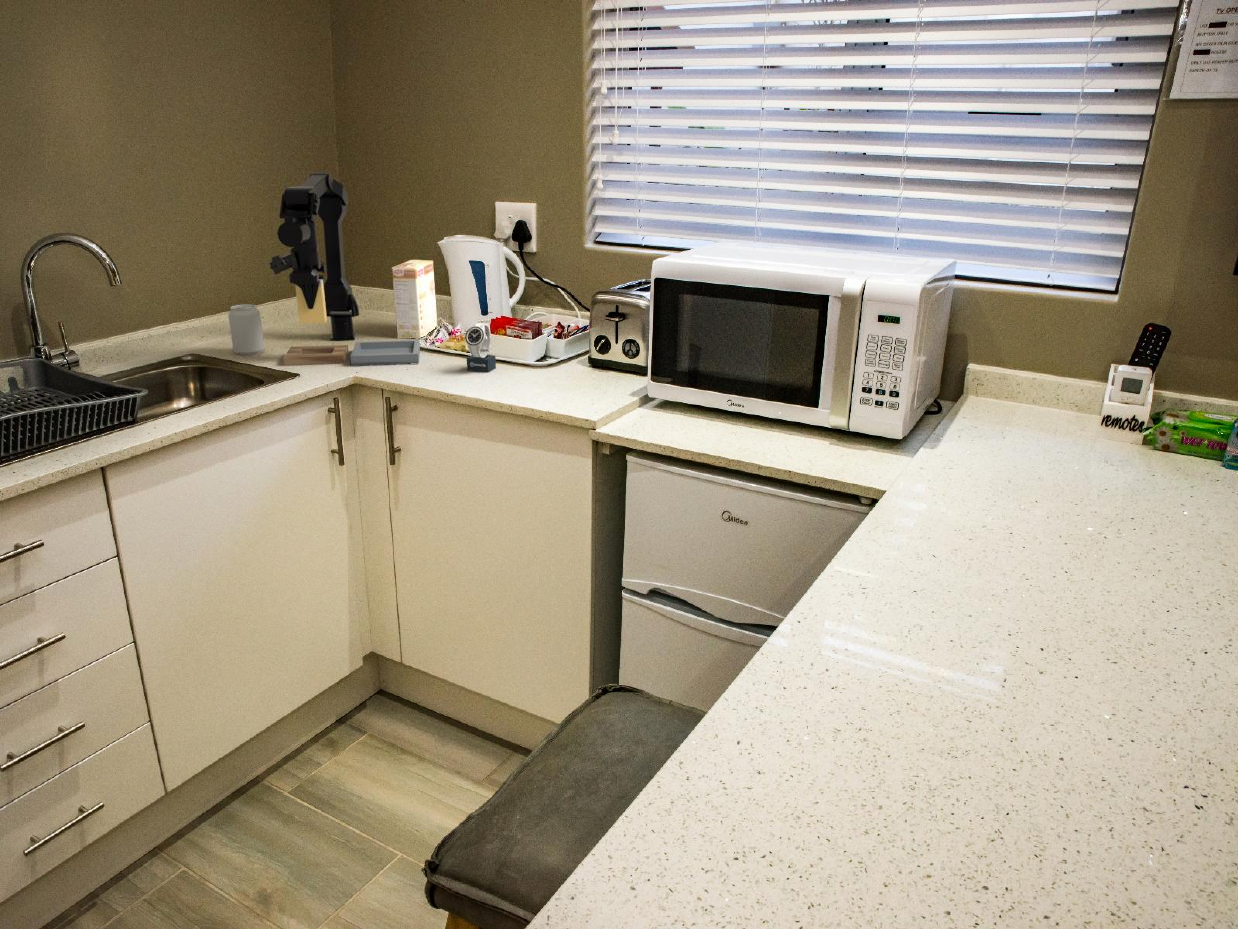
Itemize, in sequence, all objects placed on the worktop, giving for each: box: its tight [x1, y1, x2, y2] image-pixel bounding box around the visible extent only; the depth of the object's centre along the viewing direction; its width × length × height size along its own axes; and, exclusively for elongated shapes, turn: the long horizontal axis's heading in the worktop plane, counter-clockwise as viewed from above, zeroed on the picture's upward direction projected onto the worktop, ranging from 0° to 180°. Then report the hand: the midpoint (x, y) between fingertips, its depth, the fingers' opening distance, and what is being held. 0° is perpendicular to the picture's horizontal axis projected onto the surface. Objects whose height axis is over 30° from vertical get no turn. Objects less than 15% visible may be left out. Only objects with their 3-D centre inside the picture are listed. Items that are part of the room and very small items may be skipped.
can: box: [228, 304, 265, 356], centre depth 236 cm, size 8×8×12 cm
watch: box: [464, 322, 497, 373], centre depth 221 cm, size 6×8×11 cm
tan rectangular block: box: [294, 278, 328, 325], centre depth 227 cm, size 4×6×10 cm, turn 100°
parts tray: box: [350, 339, 421, 367], centre depth 233 cm, size 16×16×2 cm
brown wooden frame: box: [283, 344, 350, 367], centre depth 231 cm, size 12×14×2 cm
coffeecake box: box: [391, 259, 438, 340], centre depth 257 cm, size 15×7×20 cm, turn 172°
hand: (311, 307), depth 227 cm, fingers closed on tan rectangular block, 4 cm apart
